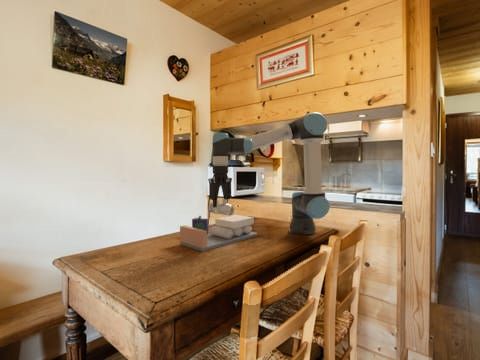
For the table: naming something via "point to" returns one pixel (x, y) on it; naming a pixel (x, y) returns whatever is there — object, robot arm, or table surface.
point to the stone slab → (234, 221)
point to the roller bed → (213, 236)
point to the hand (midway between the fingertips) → (220, 213)
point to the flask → (200, 223)
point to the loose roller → (222, 209)
